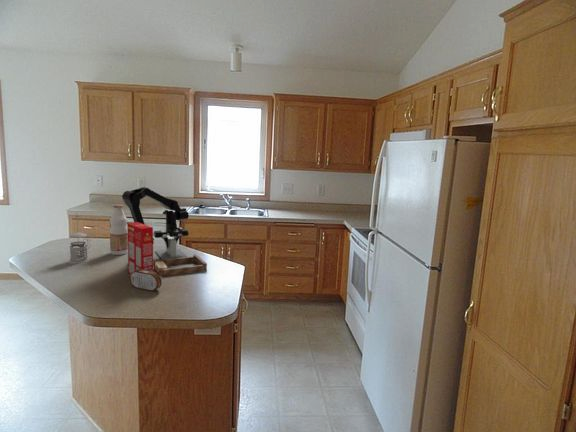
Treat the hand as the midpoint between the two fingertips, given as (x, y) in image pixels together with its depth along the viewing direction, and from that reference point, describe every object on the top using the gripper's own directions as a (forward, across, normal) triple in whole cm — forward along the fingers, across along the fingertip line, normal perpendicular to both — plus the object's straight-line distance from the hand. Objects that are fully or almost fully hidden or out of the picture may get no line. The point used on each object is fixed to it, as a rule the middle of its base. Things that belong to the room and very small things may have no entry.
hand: (171, 247), depth 218 cm
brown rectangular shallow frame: (+4, -2, -26) cm, 26 cm away
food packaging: (+5, -22, -31) cm, 38 cm away
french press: (+5, -46, +6) cm, 47 cm away
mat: (+4, 0, 0) cm, 4 cm away
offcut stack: (+5, -11, -26) cm, 29 cm away
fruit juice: (+4, -26, +14) cm, 30 cm away
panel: (+4, 0, 0) cm, 4 cm away
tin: (+5, -23, -49) cm, 54 cm away
